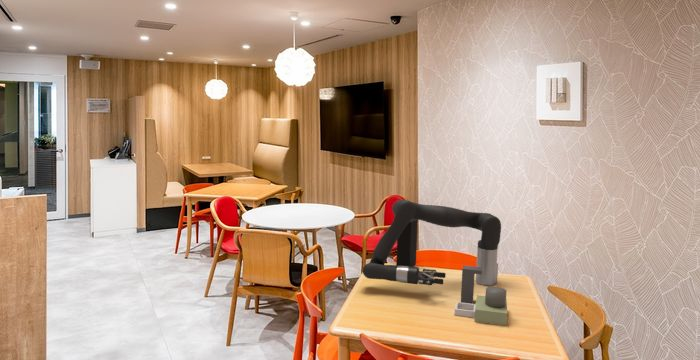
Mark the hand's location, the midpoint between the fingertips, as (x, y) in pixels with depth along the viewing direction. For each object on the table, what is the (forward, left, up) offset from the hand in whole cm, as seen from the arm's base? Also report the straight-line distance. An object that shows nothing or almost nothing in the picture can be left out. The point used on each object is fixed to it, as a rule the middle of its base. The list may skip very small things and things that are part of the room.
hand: (444, 278), depth 223 cm
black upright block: (-11, -46, -9) cm, 48 cm away
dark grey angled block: (-8, +8, -9) cm, 15 cm away
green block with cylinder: (-3, +21, -9) cm, 23 cm away
